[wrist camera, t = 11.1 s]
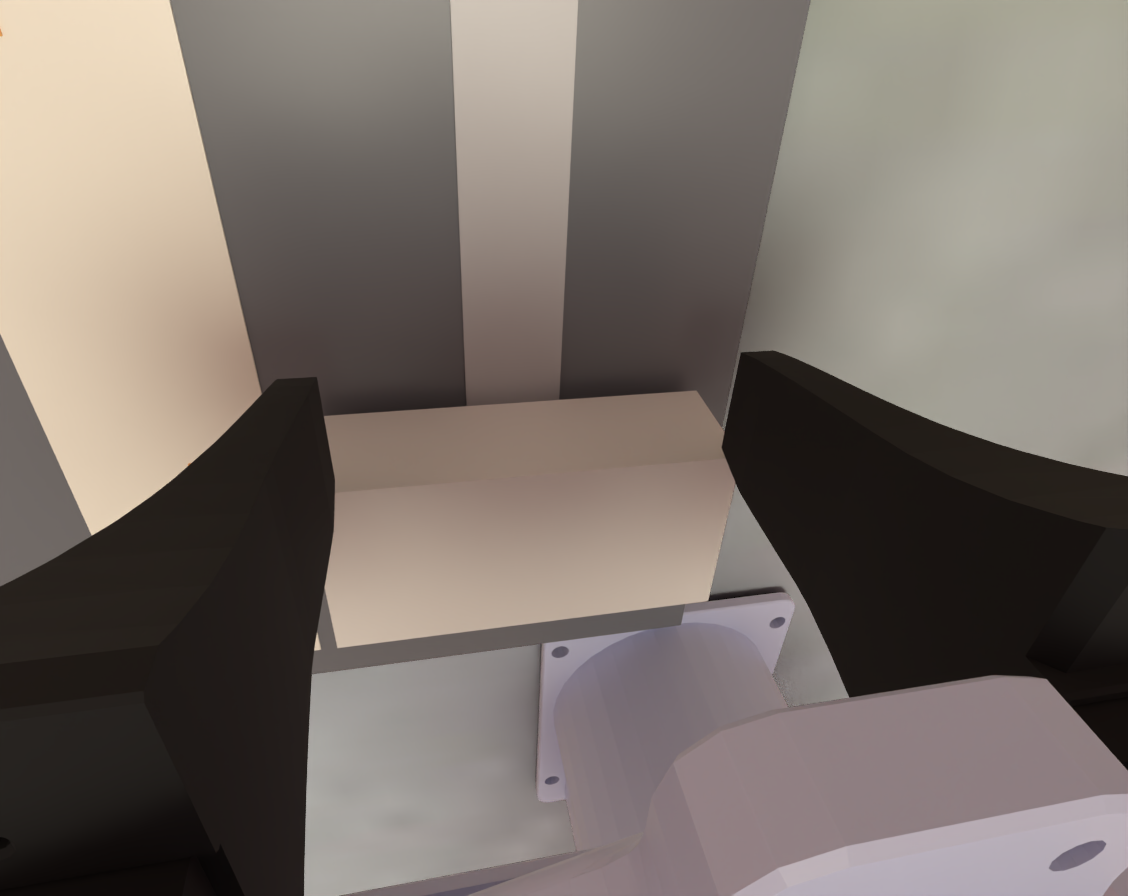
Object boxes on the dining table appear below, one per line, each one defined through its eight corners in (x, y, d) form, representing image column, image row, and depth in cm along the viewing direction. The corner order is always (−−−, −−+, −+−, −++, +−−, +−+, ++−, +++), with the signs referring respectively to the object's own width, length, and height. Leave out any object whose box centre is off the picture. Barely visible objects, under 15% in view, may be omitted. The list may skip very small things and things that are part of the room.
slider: (672, 526, 18) (707, 601, 16) (343, 561, 17) (337, 647, 15) (696, 390, 16) (741, 457, 14) (316, 416, 14) (304, 495, 12)
